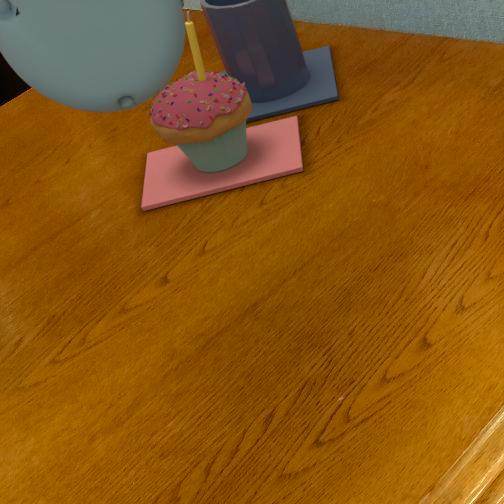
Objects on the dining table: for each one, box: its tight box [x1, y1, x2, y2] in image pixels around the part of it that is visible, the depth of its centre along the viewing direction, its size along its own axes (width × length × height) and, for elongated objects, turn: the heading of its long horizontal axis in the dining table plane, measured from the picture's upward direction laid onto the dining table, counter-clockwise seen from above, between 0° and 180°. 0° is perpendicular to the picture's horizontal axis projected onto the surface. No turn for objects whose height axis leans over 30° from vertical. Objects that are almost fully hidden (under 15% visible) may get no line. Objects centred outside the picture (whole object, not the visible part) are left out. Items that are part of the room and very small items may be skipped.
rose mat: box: [140, 115, 304, 212], centre depth 88 cm, size 14×10×1 cm
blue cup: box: [199, 0, 310, 103], centre depth 94 cm, size 7×7×9 cm
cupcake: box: [148, 10, 252, 172], centre depth 84 cm, size 9×8×12 cm
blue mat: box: [219, 45, 340, 124], centre depth 97 cm, size 12×12×1 cm
